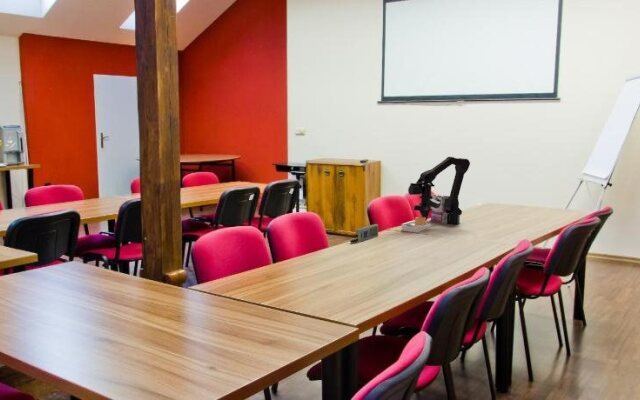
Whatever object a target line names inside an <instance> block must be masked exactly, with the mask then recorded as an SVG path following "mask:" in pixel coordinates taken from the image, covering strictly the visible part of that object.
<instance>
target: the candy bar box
mask: <svg viewBox="0 0 640 400" xmlns="http://www.w3.org/2000/svg"><path fill="white" fill-rule="evenodd" d="M431 196H432V197H433V199H434V200H437V199H440V200H441V205H440V206H439V208H434V207H430V208H431V209H433V210H431V211H430V221H433V222H437V223H442V224H443V223H447V216H448V214H449V213H447V212H446V210H445V208H444V202H445V198H448V197H449V196H450V195H445V194H438V193H433V194H432V193H431Z"/></svg>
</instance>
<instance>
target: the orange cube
mask: <svg viewBox="0 0 640 400" xmlns="http://www.w3.org/2000/svg"><path fill="white" fill-rule="evenodd" d="M414 220H415V225H425V224H427V221H426V217H422V216H416V217H414Z"/></svg>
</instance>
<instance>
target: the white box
mask: <svg viewBox="0 0 640 400" xmlns="http://www.w3.org/2000/svg"><path fill="white" fill-rule="evenodd" d="M430 224H431V223H426V224H425V225H415V219H414V220H410V221H407V222H404V223H401V231H403V230H404V231H405V232H411V233H420V232H422V231H423V230H425V229H427V228H431V226H430ZM404 231H403V232H404Z"/></svg>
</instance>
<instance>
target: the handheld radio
mask: <svg viewBox="0 0 640 400" xmlns="http://www.w3.org/2000/svg"><path fill="white" fill-rule="evenodd" d="M354 237H355V239H352V240H350V243H351V244H353V243H356V242H357V243H360V242H364V241H367V240H370V239H374V238H376V237H379V224H378V223H374V224H370V225H367V226H363V227H358V228H357V229H355V236H354Z"/></svg>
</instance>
